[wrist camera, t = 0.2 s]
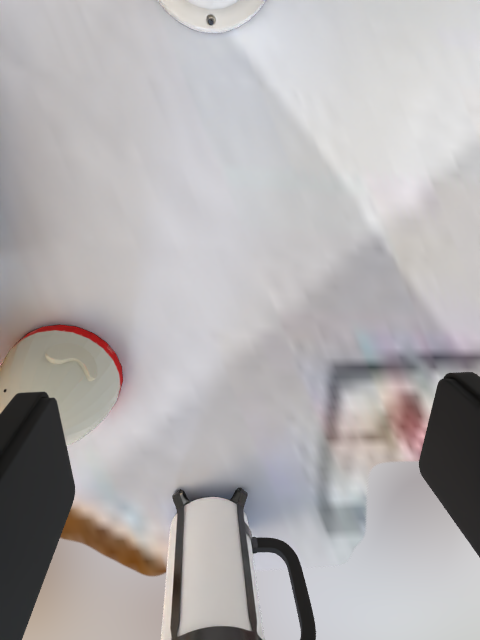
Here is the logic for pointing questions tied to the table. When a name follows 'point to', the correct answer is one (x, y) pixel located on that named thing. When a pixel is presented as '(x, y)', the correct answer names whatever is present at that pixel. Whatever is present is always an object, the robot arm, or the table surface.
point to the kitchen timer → (65, 375)
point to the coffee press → (221, 573)
